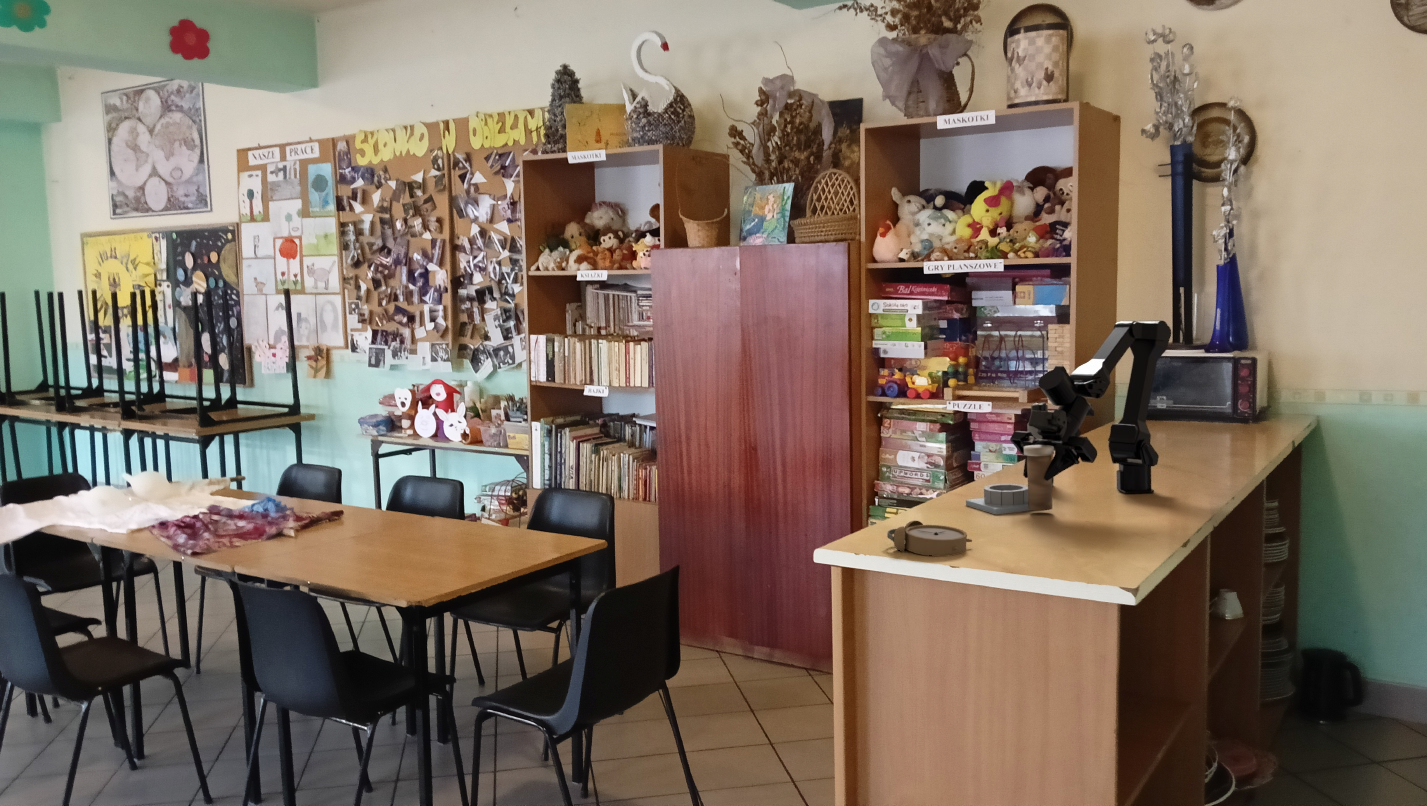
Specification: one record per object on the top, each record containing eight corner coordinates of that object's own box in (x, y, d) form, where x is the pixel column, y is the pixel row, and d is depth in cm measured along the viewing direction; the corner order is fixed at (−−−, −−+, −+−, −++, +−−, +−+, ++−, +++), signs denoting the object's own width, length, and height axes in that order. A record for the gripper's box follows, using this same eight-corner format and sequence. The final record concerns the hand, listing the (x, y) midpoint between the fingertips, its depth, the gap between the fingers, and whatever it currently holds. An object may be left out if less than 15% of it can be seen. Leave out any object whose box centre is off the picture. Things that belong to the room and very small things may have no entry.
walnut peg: (1051, 504, 227) (1049, 444, 226) (1058, 510, 221) (1057, 448, 220) (1022, 506, 228) (1020, 445, 226) (1029, 511, 222) (1027, 449, 220)
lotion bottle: (1055, 487, 253) (1053, 403, 251) (1030, 487, 254) (1028, 404, 252) (1052, 483, 258) (1050, 400, 256) (1027, 483, 259) (1025, 401, 257)
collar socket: (1016, 499, 241) (1016, 480, 240) (1048, 508, 229) (1048, 488, 229) (966, 505, 237) (965, 486, 237) (995, 514, 226) (995, 495, 225)
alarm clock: (956, 543, 190) (878, 523, 198) (952, 570, 191) (875, 548, 199) (977, 530, 199) (902, 511, 207) (973, 556, 200) (898, 536, 208)
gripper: (1014, 394, 232) (981, 450, 227) (1087, 397, 217) (1053, 458, 212) (1038, 425, 237) (1007, 482, 232) (1112, 431, 222) (1079, 492, 217)
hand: (1035, 478), depth 223 cm, fingers closed on walnut peg, 5 cm apart
